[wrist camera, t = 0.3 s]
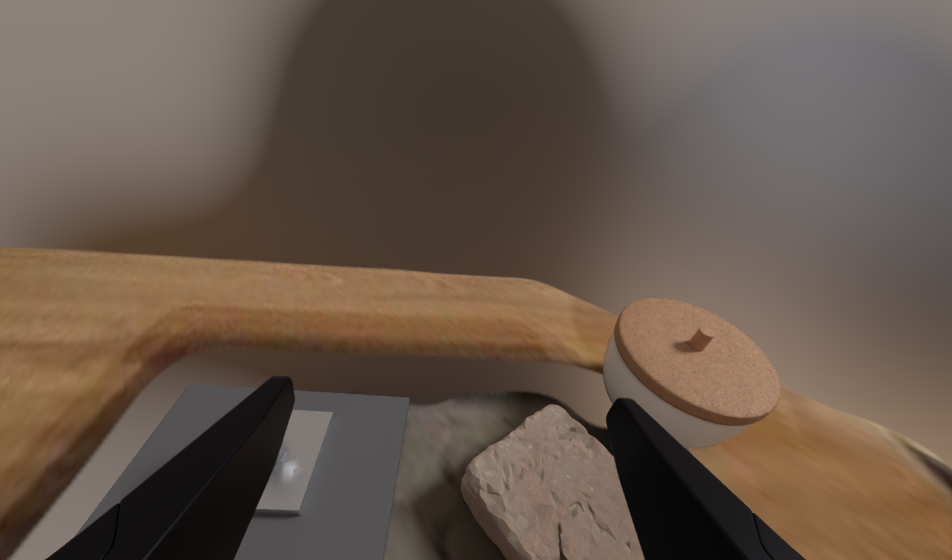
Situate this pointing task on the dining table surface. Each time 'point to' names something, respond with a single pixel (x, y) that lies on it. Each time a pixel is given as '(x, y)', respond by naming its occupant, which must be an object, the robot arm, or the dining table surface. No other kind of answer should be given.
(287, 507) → the metal knob
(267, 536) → the plate
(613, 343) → the lidded jar
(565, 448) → the brick
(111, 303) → the dining table surface
